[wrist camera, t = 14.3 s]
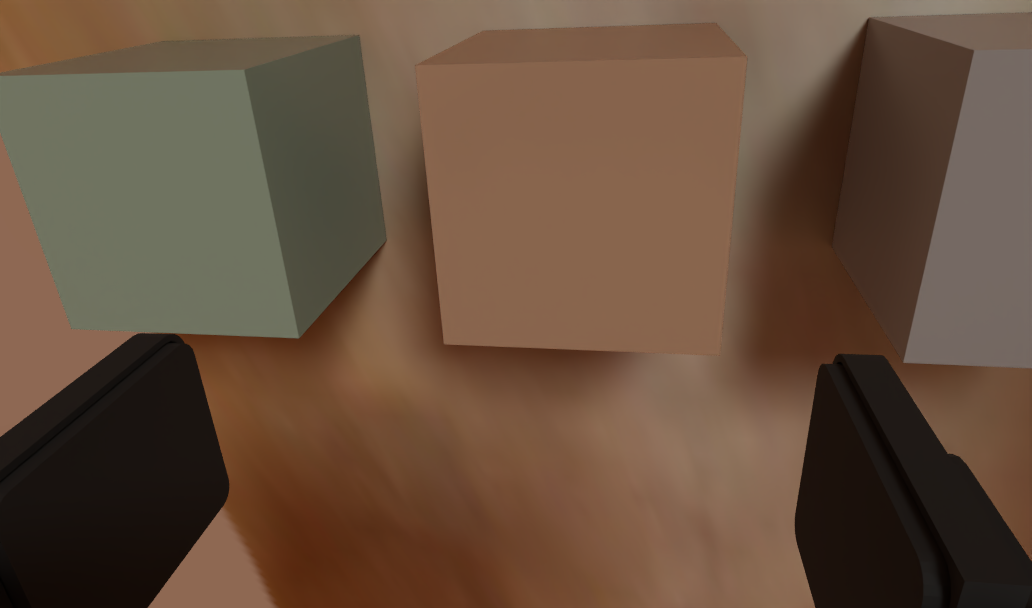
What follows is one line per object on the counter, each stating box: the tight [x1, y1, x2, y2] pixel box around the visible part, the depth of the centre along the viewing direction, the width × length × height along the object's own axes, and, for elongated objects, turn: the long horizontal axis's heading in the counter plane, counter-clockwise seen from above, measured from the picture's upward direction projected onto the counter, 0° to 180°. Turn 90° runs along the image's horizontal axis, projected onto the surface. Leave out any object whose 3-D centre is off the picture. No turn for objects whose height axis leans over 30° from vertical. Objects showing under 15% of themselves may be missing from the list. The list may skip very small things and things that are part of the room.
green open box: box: [0, 35, 387, 338], centre depth 24 cm, size 8×8×8 cm
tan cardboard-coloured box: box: [415, 23, 747, 356], centre depth 22 cm, size 8×8×8 cm
